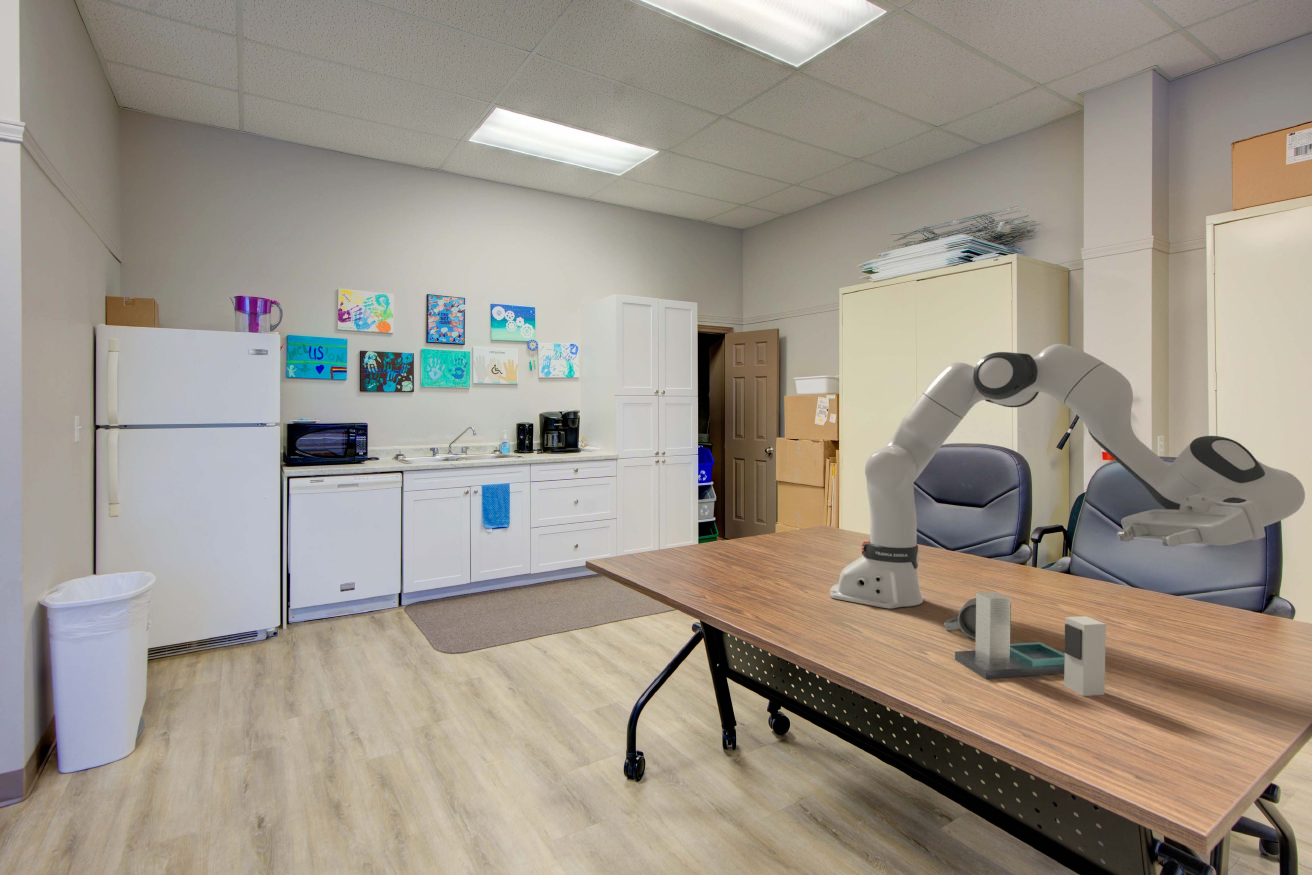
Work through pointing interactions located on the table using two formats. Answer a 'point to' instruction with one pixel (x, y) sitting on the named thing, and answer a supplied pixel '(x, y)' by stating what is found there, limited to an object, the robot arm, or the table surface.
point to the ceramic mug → (964, 620)
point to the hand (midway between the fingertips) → (1142, 539)
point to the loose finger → (1085, 655)
